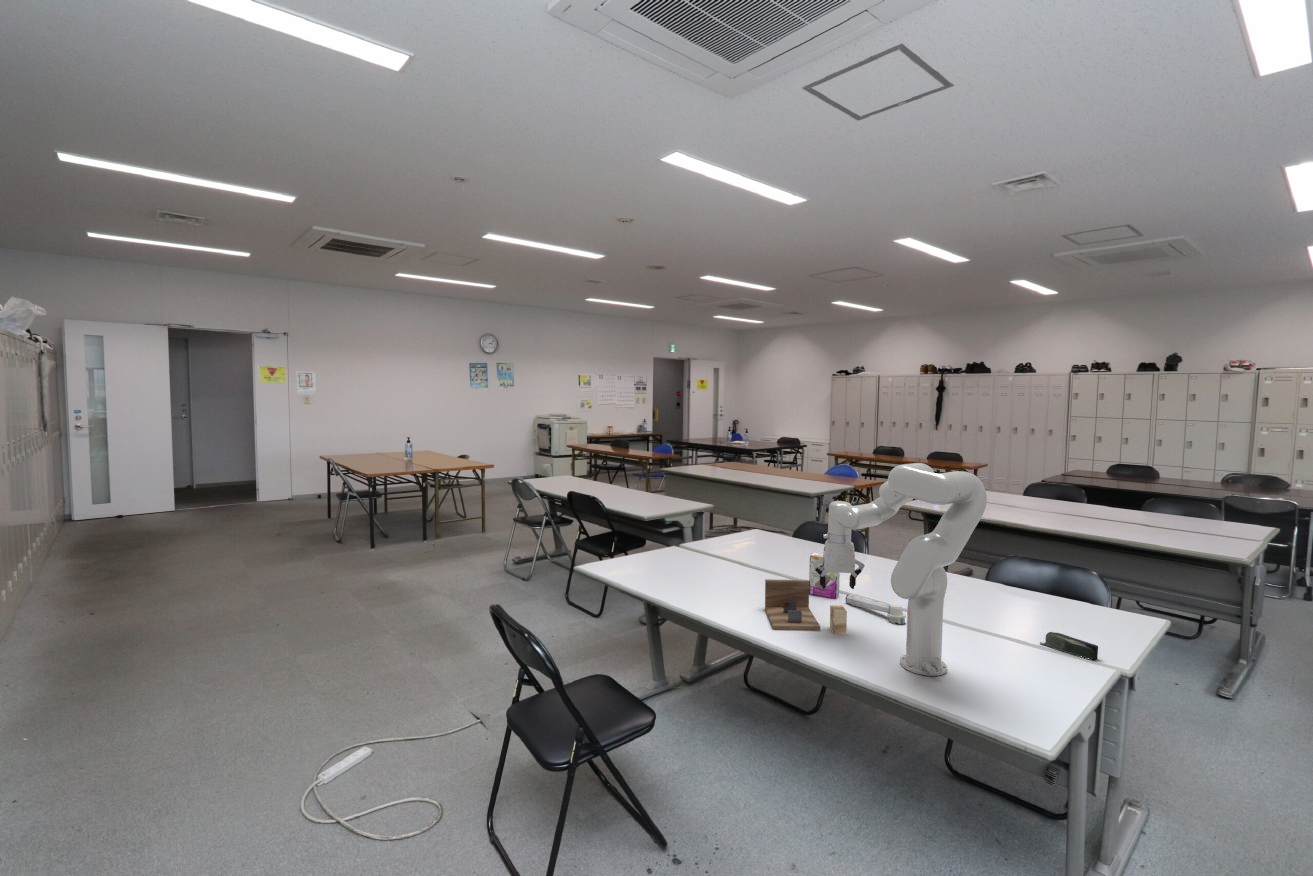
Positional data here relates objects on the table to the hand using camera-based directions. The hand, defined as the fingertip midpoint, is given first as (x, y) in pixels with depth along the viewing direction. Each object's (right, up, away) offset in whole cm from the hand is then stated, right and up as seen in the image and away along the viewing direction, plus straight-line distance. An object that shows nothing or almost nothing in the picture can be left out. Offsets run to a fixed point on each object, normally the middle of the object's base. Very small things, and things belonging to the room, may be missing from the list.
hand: (837, 587), depth 198 cm
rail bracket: (0, -15, 0) cm, 15 cm away
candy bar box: (+6, -13, +36) cm, 39 cm away
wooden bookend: (-13, -14, +11) cm, 22 cm away
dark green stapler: (+67, -16, -16) cm, 71 cm away
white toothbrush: (+19, -14, +17) cm, 29 cm away
